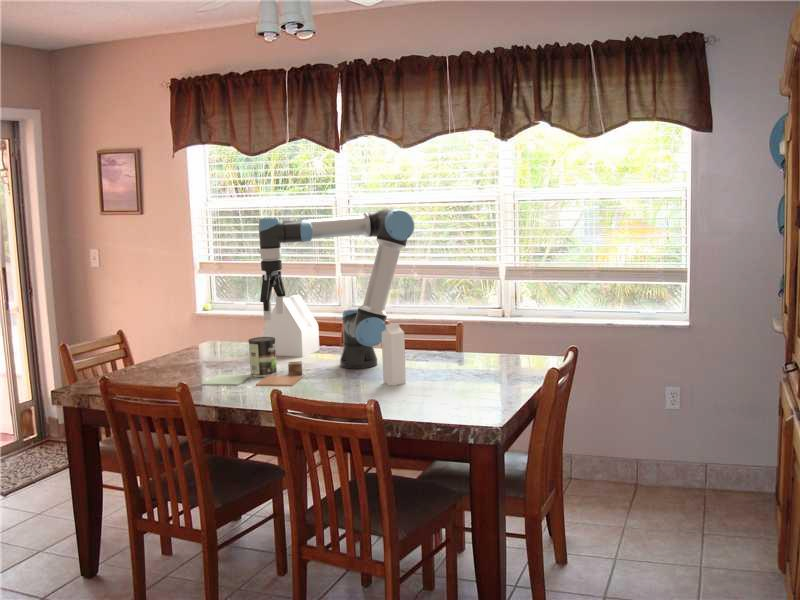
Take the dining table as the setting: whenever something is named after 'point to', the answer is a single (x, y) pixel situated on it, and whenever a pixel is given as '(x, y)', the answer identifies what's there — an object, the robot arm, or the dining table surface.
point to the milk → (393, 355)
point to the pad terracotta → (279, 380)
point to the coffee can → (262, 356)
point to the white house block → (293, 329)
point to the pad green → (227, 380)
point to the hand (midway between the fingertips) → (274, 316)
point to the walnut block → (295, 368)
